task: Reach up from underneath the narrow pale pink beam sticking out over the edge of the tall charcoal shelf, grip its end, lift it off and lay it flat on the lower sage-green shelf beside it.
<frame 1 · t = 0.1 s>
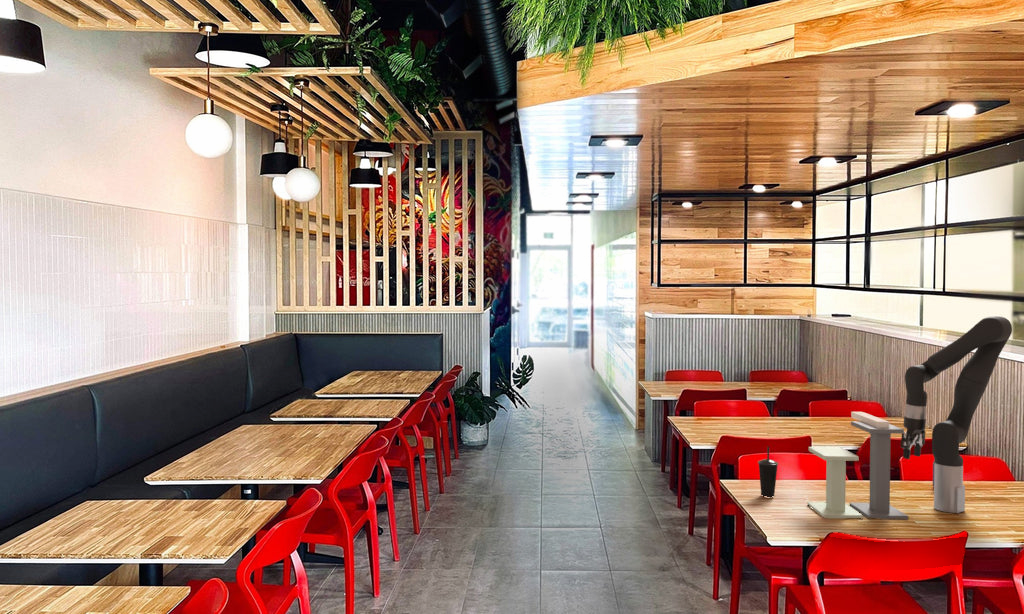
hand: (911, 457, 286), 17 cm above the table, tool pointing down, fingers open, 8 cm apart
pale pink beam: (869, 422, 279), point 32 cm above the table, touching high shelf
drinking cup: (767, 497, 292), on the table
high shelf: (875, 510, 273), on the table
beverage can: (942, 488, 305), on the table
low shelf: (832, 510, 274), on the table
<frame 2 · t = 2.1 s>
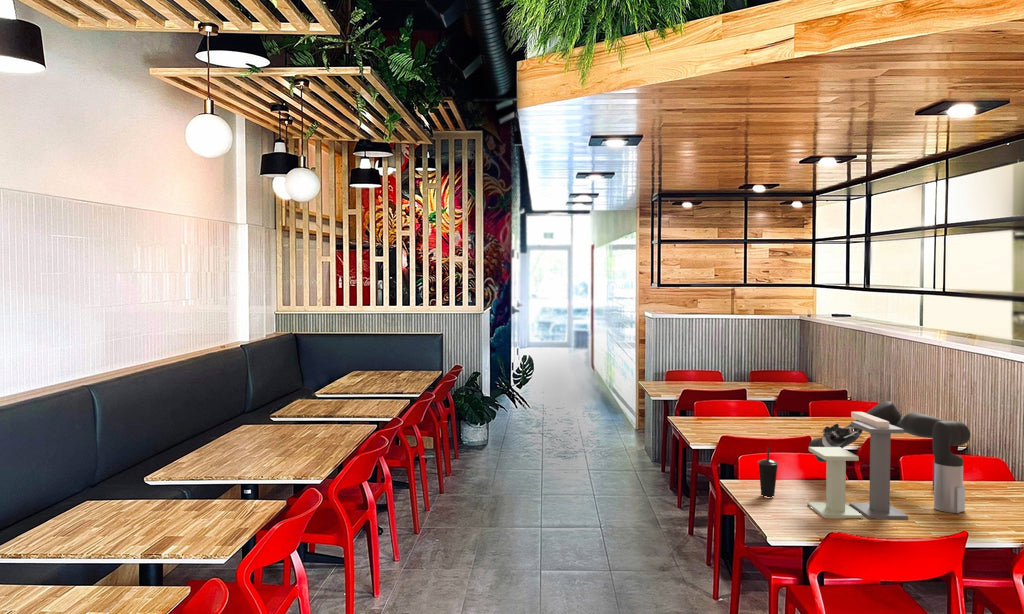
hand: (848, 425, 297), 27 cm above the table, tool pointing upward, fingers open, 8 cm apart
nothing on the table moved.
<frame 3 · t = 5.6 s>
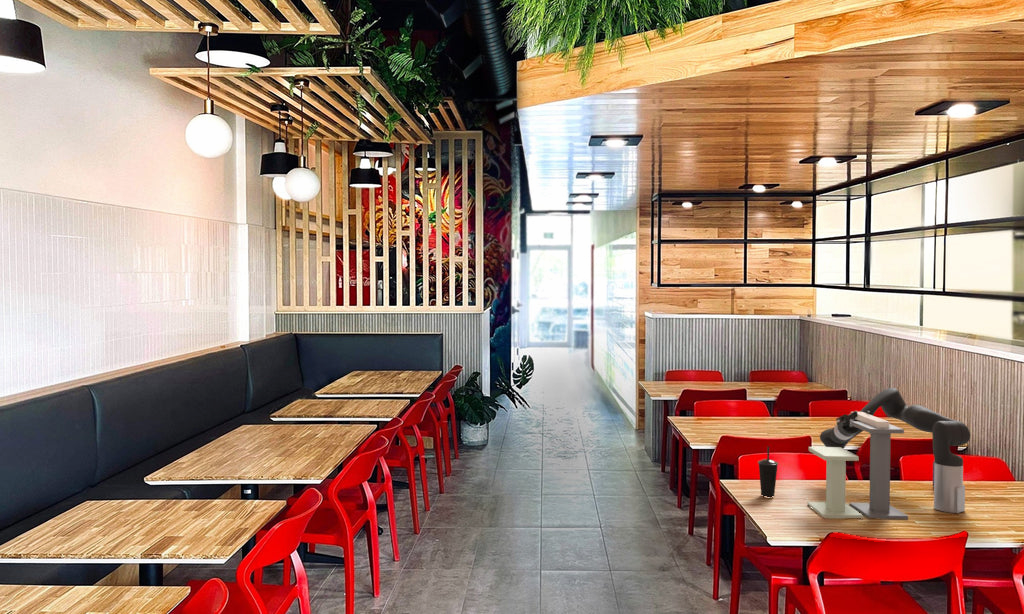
hand: (862, 413, 284), 34 cm above the table, tool pointing upward, fingers closed on pale pink beam, 4 cm apart
pale pink beam: (869, 422, 279), point 32 cm above the table, touching gripper, high shelf
everything else where it was.
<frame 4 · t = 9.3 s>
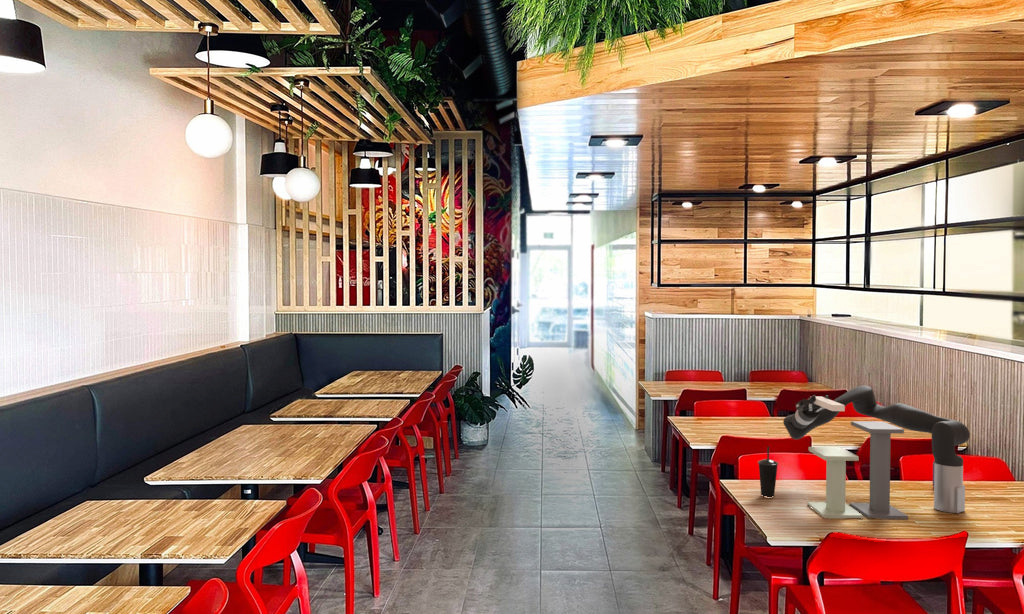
hand: (821, 397, 285), 40 cm above the table, tool pointing upward, fingers closed on pale pink beam, 4 cm apart
pale pink beam: (826, 406, 279), point 38 cm above the table, touching gripper
everything else where it was.
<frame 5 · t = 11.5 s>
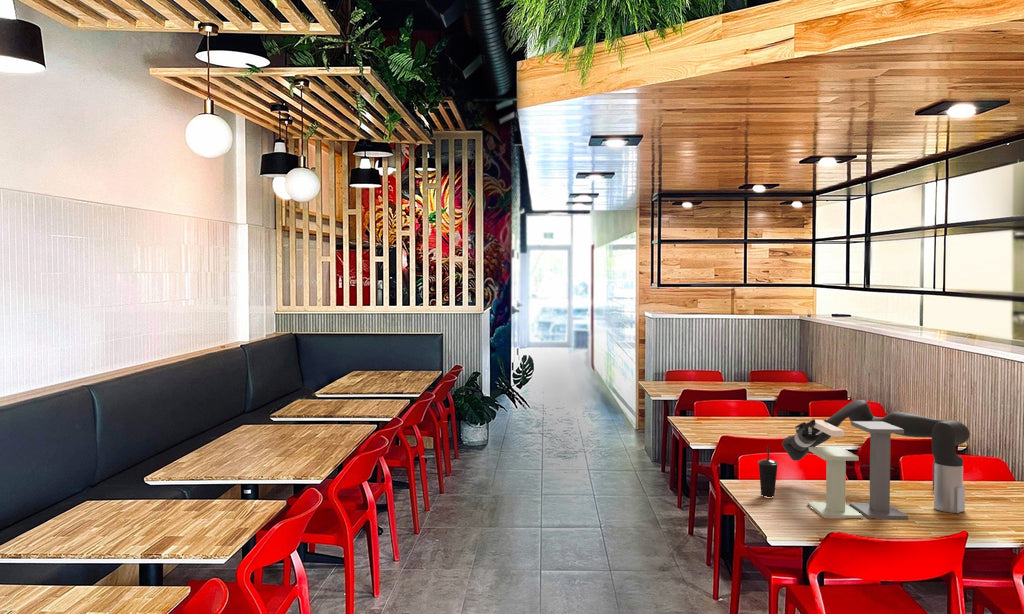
hand: (820, 421, 285), 31 cm above the table, tool pointing upward, fingers closed on pale pink beam, 4 cm apart
pale pink beam: (826, 430, 279), point 29 cm above the table, touching gripper
everything else where it was.
when the fingers open (26 cm above the table, at t = 13.2 s): pale pink beam drops 1 cm, resting on low shelf.
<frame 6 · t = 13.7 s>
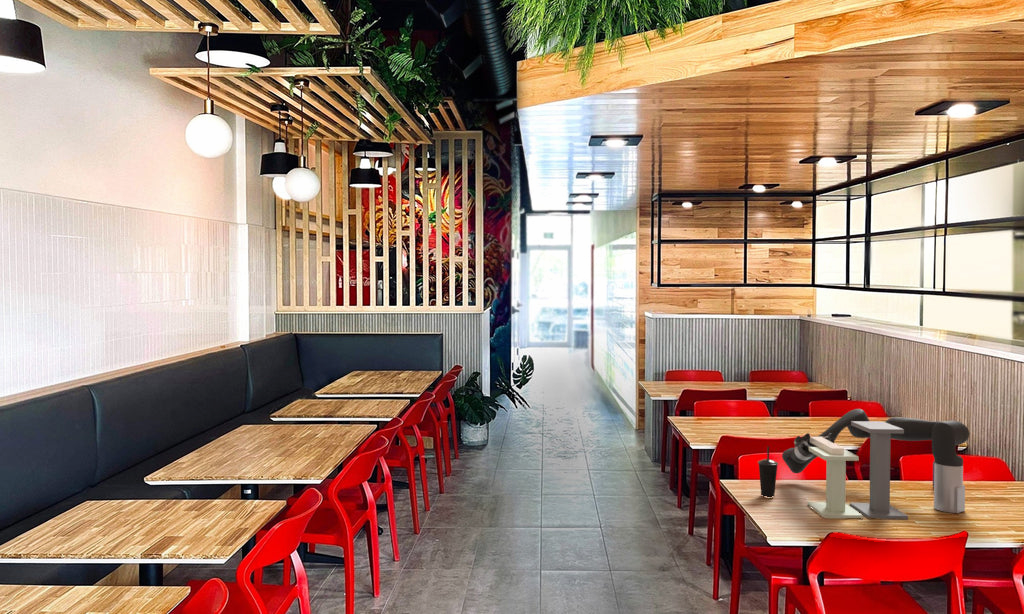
hand: (820, 435, 286), 26 cm above the table, tool pointing upward, fingers open, 8 cm apart
pale pink beam: (826, 448, 280), point 22 cm above the table, touching low shelf
everything else where it was.
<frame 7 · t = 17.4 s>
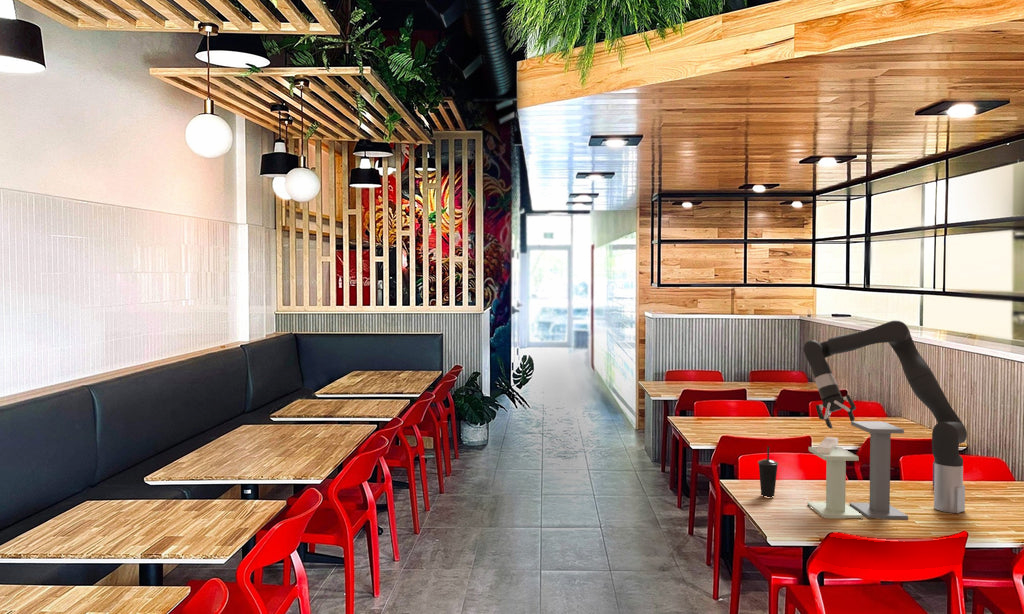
hand: (841, 424, 292), 29 cm above the table, tool tilted 30°, fingers open, 8 cm apart
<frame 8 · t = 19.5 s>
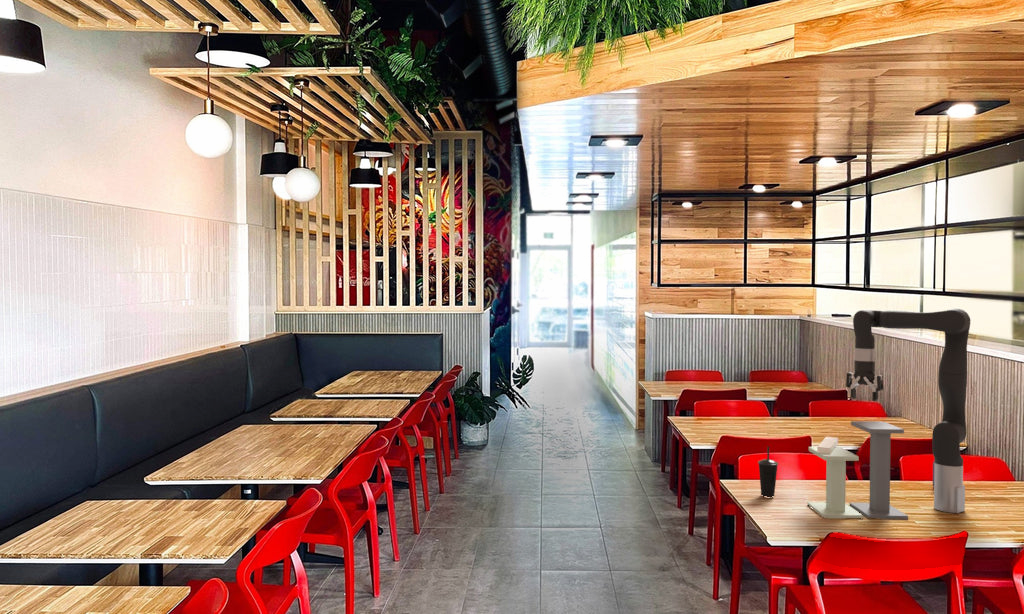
hand: (864, 399, 296), 38 cm above the table, tool pointing down, fingers open, 8 cm apart
nothing on the table moved.
at the end: pale pink beam inside the target area on the low shelf (1.1 cm from its centre), point 22.0 cm above the low shelf's base; pale pink beam tilted 0°; the gripper is holding nothing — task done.
